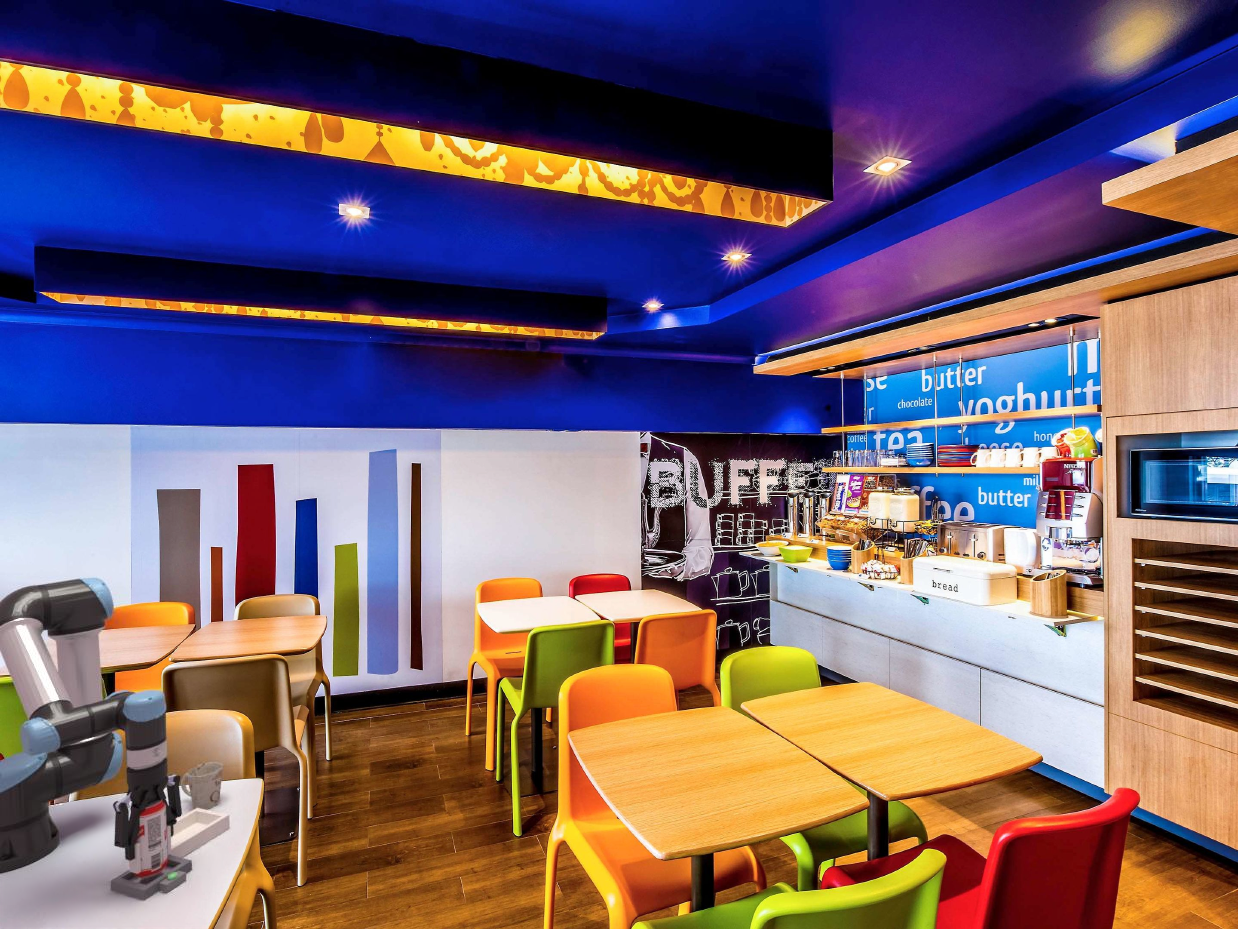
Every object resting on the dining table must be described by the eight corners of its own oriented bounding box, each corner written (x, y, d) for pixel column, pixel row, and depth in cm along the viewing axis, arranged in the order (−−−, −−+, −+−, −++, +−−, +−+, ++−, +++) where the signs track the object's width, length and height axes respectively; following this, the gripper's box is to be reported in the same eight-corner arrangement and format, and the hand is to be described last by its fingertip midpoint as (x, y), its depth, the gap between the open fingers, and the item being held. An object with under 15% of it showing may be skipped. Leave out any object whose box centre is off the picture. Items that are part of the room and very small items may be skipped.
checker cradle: (110, 890, 144) (110, 879, 144) (159, 861, 154) (158, 850, 154) (152, 903, 139) (151, 891, 139) (199, 871, 150) (199, 861, 150)
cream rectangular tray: (137, 856, 156) (136, 841, 156) (197, 821, 171) (197, 807, 171) (171, 864, 153) (170, 850, 152) (229, 828, 167) (229, 814, 167)
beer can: (141, 884, 143) (139, 812, 143) (128, 874, 146) (126, 804, 146) (173, 868, 148) (170, 799, 148) (160, 859, 152) (157, 792, 151)
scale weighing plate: (124, 886, 145) (124, 883, 145) (156, 866, 152) (156, 863, 152) (147, 892, 143) (147, 889, 143) (178, 872, 149) (178, 869, 149)
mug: (206, 814, 174) (205, 777, 174) (167, 810, 176) (166, 774, 176) (231, 798, 182) (229, 763, 182) (193, 794, 185) (192, 759, 184)
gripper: (113, 785, 136) (117, 893, 137) (199, 745, 154) (202, 840, 155) (89, 780, 139) (93, 885, 139) (176, 741, 157) (179, 835, 158)
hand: (150, 862), depth 147 cm, fingers closed on beer can, 6 cm apart
